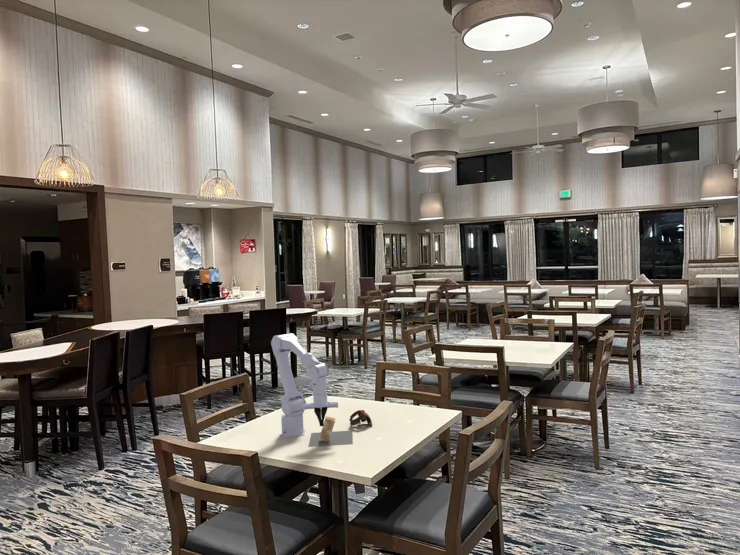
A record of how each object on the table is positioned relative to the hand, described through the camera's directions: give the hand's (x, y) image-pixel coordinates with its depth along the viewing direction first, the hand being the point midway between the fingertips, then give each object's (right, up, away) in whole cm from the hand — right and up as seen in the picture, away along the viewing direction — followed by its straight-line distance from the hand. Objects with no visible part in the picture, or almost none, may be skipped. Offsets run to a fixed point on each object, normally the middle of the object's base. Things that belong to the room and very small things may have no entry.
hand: (321, 425), depth 223 cm
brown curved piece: (+16, -6, +20) cm, 27 cm away
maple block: (+1, -6, 0) cm, 6 cm away
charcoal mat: (+4, -7, +3) cm, 8 cm away
